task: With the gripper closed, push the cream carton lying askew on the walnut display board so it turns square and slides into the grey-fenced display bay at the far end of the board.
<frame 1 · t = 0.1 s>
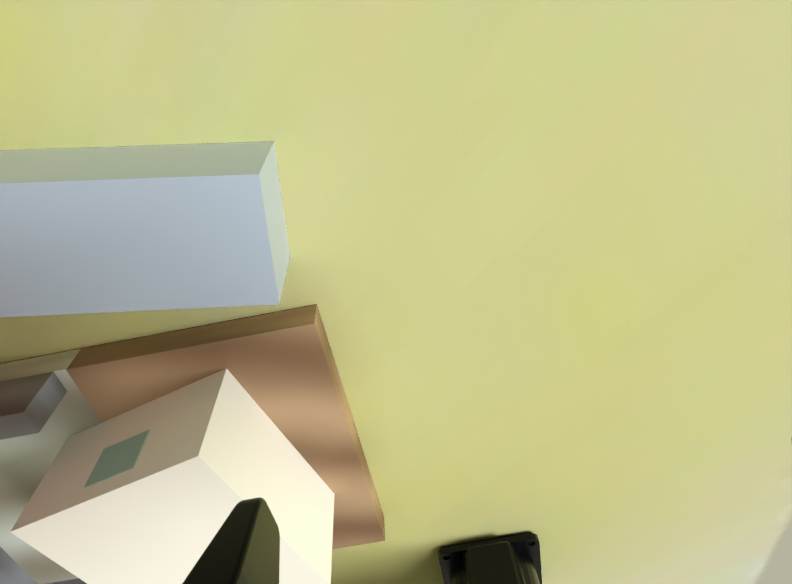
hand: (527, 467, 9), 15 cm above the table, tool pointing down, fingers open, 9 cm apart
display board: (157, 462, 29), on the table
pencil case: (134, 205, 22), on the table
carton: (209, 467, 27), point 1 cm above the table, touching display board
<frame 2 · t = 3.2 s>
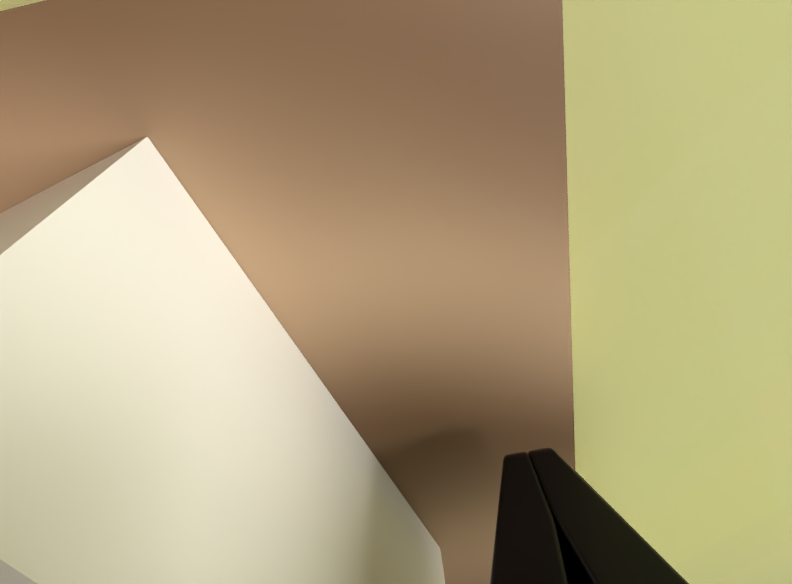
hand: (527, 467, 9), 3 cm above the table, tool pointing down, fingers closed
display board: (50, 457, 12), on the table
carton: (120, 481, 10), point 2 cm above the table, touching gripper
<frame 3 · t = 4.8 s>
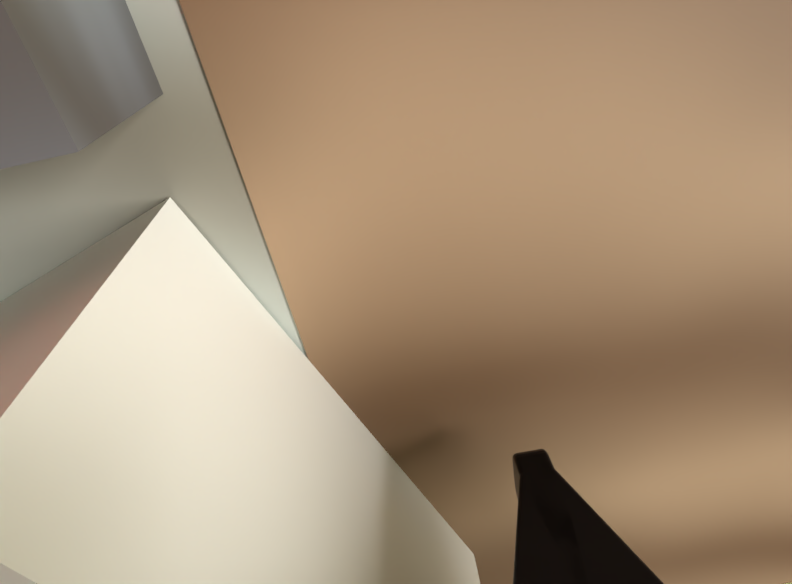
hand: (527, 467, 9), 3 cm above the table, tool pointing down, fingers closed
display board: (351, 398, 11), on the table
carton: (165, 513, 11), point 1 cm above the table, touching display board, gripper
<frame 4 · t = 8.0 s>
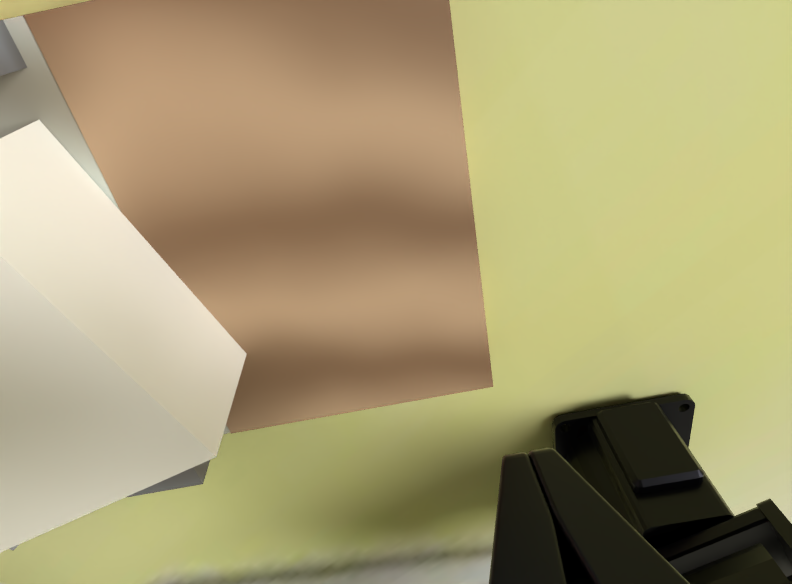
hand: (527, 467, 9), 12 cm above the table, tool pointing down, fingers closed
display board: (169, 251, 20), on the table
carton: (56, 308, 19), point 1 cm above the table, touching display board
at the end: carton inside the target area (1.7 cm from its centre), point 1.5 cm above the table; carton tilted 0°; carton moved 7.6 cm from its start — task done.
